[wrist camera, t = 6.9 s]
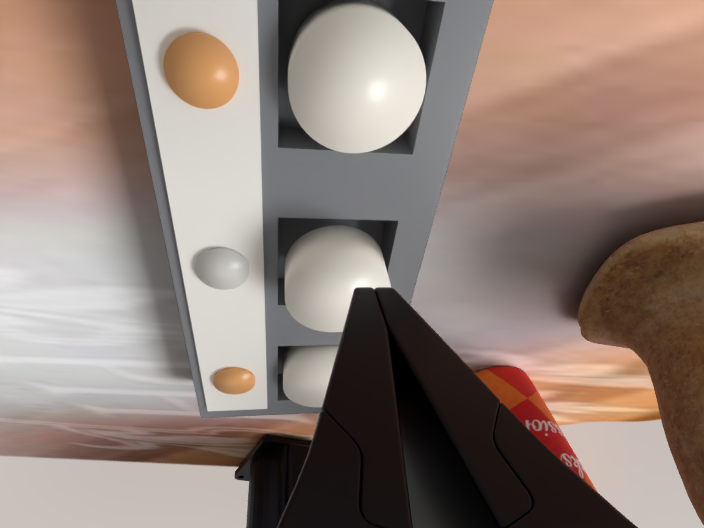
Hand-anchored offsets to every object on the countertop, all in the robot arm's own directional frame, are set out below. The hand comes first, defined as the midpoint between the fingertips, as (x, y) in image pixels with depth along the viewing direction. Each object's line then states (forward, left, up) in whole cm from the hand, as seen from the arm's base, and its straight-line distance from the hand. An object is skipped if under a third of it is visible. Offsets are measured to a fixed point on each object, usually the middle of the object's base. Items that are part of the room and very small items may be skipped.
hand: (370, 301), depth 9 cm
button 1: (+2, 0, -9) cm, 10 cm away
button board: (-6, -1, -11) cm, 12 cm away
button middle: (-5, -3, -8) cm, 10 cm away
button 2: (-13, -6, -9) cm, 17 cm away
